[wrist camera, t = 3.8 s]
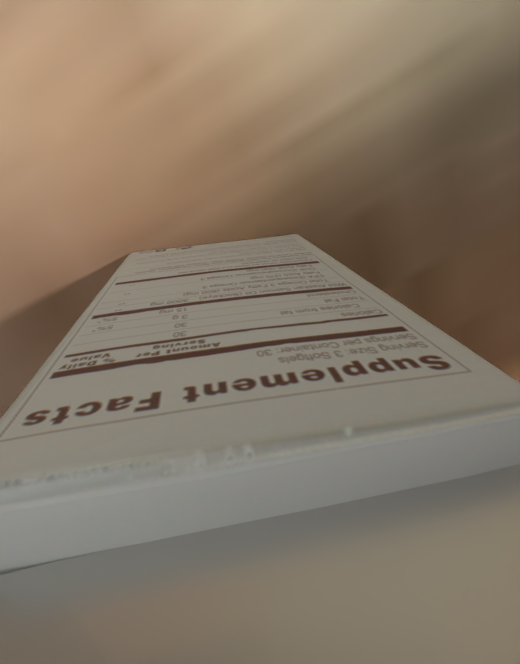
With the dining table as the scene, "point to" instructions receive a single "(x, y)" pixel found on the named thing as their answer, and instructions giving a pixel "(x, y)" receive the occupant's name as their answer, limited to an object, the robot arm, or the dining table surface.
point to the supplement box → (238, 402)
